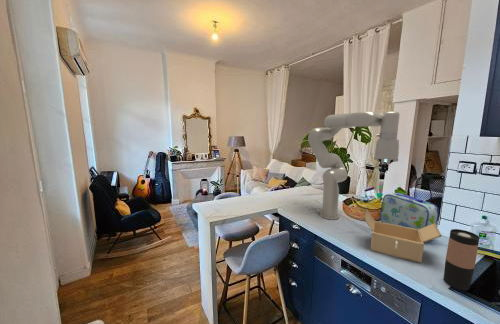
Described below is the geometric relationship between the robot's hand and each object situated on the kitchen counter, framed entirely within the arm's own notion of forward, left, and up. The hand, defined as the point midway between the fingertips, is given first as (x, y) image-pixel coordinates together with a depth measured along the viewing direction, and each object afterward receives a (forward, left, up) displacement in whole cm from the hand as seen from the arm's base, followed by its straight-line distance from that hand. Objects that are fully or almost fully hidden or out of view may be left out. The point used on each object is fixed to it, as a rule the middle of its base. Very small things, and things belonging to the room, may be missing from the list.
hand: (384, 171), depth 112 cm
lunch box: (+13, +12, -35) cm, 40 cm away
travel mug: (+26, -28, -35) cm, 52 cm away
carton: (+7, -13, -35) cm, 38 cm away
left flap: (-4, -12, -23) cm, 26 cm away
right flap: (+19, -12, -23) cm, 32 cm away
